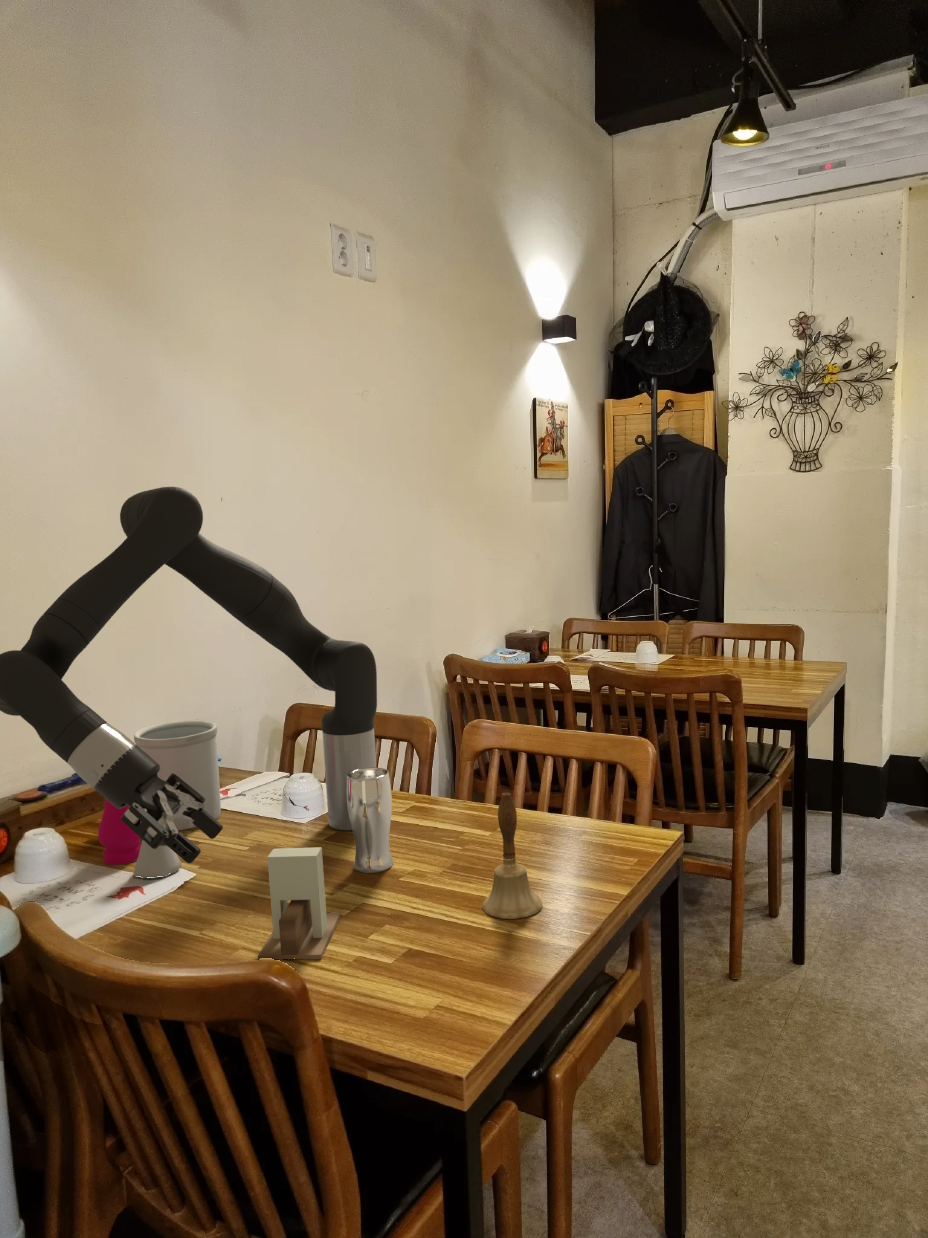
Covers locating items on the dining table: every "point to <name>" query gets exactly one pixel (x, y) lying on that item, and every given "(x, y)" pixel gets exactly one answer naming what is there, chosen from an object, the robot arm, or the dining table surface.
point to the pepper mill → (117, 837)
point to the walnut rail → (298, 934)
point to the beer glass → (370, 818)
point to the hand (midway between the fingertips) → (207, 845)
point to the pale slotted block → (297, 884)
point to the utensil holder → (186, 759)
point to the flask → (156, 861)
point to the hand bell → (510, 873)
